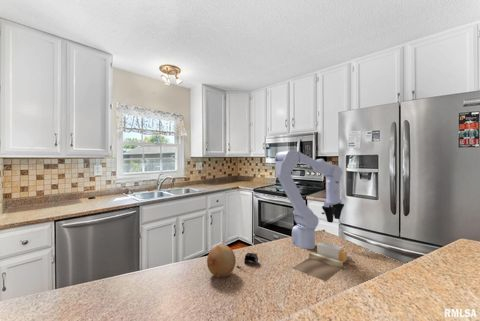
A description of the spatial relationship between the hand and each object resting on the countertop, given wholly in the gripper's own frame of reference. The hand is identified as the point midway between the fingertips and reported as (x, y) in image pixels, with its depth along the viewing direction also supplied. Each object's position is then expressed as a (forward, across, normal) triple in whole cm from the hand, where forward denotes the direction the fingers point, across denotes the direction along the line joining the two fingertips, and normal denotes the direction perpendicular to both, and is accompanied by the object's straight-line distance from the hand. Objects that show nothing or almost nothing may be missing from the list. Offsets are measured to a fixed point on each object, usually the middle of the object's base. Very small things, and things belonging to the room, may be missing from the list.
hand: (333, 220), depth 101 cm
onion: (+10, -55, +14) cm, 58 cm away
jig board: (+10, -25, -7) cm, 28 cm away
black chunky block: (+11, -43, +12) cm, 46 cm away
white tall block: (+9, -20, -7) cm, 23 cm away
